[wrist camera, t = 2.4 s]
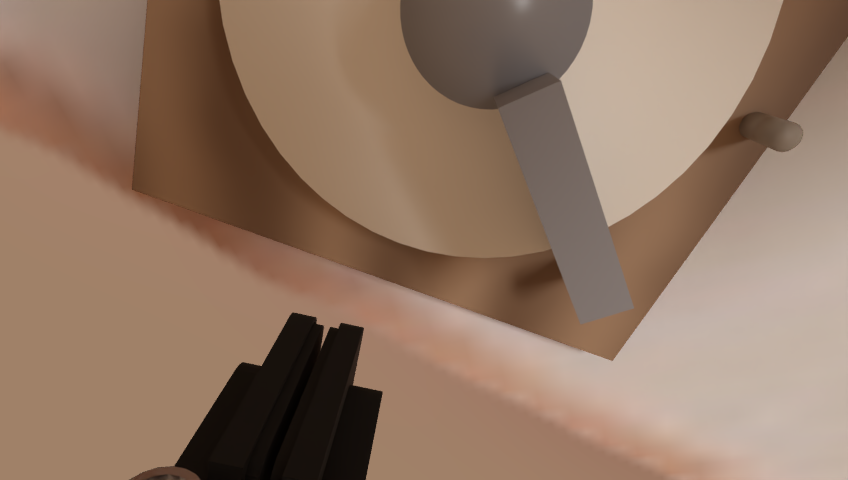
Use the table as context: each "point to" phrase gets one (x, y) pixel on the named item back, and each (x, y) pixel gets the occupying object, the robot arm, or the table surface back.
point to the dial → (498, 114)
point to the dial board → (426, 271)
